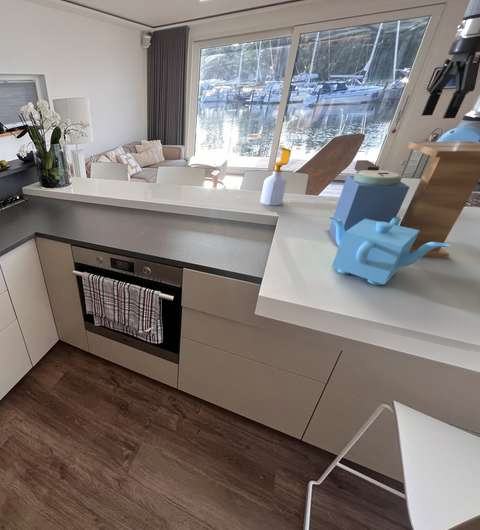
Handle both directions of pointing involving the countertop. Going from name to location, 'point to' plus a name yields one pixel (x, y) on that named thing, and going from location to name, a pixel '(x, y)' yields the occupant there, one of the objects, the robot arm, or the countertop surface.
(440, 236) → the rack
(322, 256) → the countertop surface
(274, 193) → the soap bottle
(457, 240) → the countertop surface
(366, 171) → the clock
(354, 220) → the slate blue block
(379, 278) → the teakettle
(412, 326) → the countertop surface
